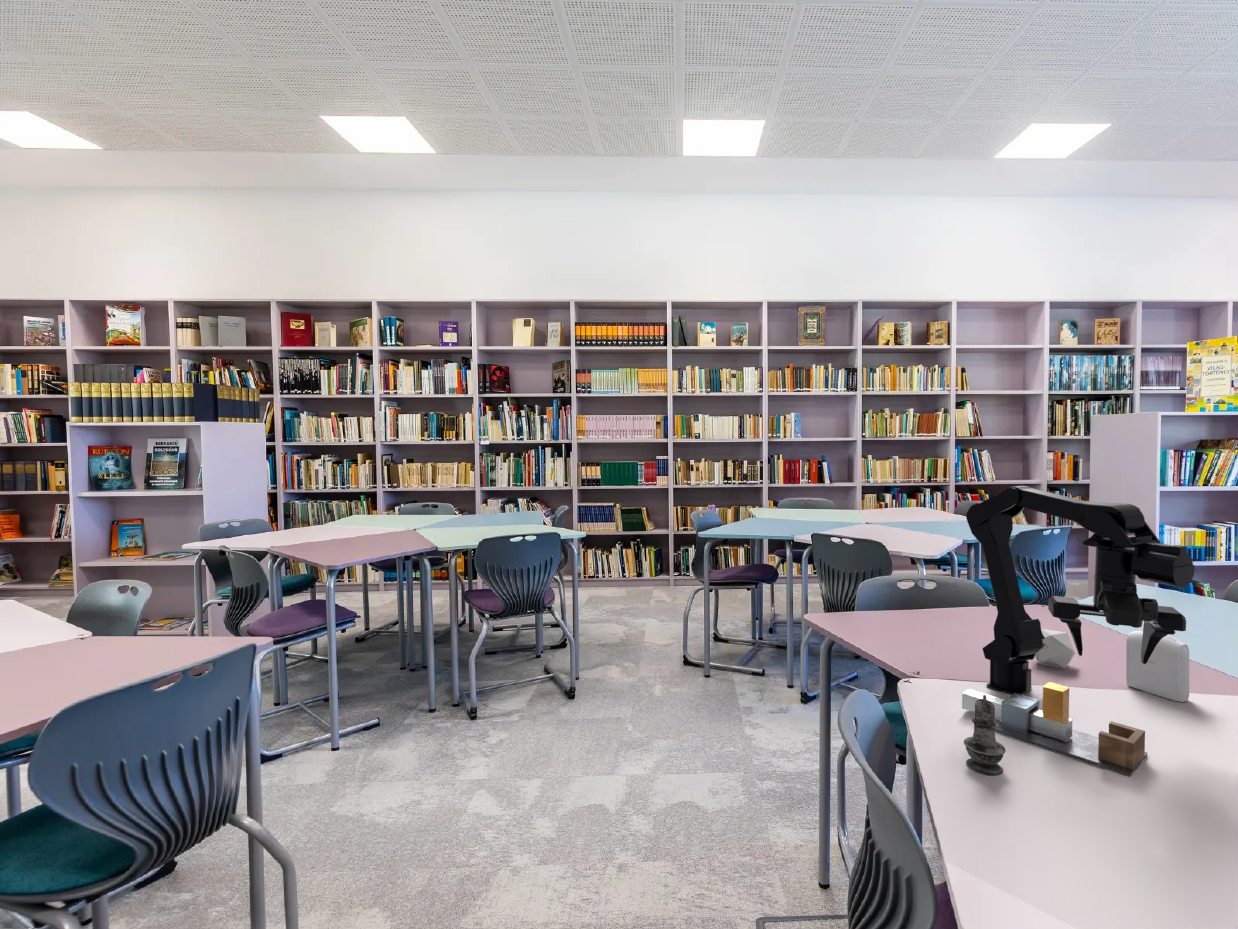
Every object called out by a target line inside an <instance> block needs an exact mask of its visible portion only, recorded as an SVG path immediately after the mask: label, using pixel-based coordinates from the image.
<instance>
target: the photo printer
mask: <svg viewBox="0 0 1238 929" xmlns="http://www.w3.org/2000/svg"><path fill="white" fill-rule="evenodd" d="M1142 637H1143V630H1135V631H1130V632H1129V633H1128V635H1127V638H1126V651H1125V652H1126V653H1125V654H1126V663H1125V664H1126V666H1125V667H1126V670H1125V672H1126V673H1125V675H1126V685H1127V686H1128V687H1132V688H1134V689H1137V690H1140V691H1143V692H1147V693H1149V694H1153V695H1155V696H1158V697H1162V698H1166V699H1168V700H1172V701H1176V702H1178V701H1179V702H1180V703H1187V702H1188V701H1189V698H1190V648H1189V646H1188V644H1186V643H1185V642H1183V641H1181V640H1180V639H1177V638H1174V637H1172V636H1170V635H1166V636H1165V637H1163V638H1162V639H1161V640H1160V641H1159V643H1158V644H1157V645H1156V647H1155V649H1154V651H1153V652H1152V654H1151V656H1150V658H1149V660H1148V661H1147V663H1146V664H1143V663H1142V662H1141V647H1142Z"/></svg>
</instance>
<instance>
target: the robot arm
mask: <svg viewBox="0 0 1238 929" xmlns="http://www.w3.org/2000/svg"><path fill="white" fill-rule="evenodd" d="M1025 509H1026V510H1027V509H1028V510H1031V511H1035V512H1039V513H1042V514H1045V515H1050V516H1053V517H1057V518H1060V519H1065V520H1069V521H1070V522H1071V521H1072V522H1074V523H1076V524H1077V525H1080V527H1082V528H1083V529H1084V530H1086V531H1089V532H1091V533H1093V534H1092V535H1091V536H1090V537H1089V538H1087V539H1085V540H1082V544H1083V545H1084V546H1087V547H1094V548H1095V565H1094V576H1093V581H1094V584H1093V587H1094V588H1093V604H1087V603H1080V602H1078V601H1077V600H1076V598H1075V597H1069V596H1059V595H1052V596H1051V597H1049V599H1048V602H1047V603H1048V607H1047V610H1048V611H1049V613H1050V614H1051V616H1052V617H1053V618H1056V619H1059V620H1060V622H1062V623H1064V624H1066V625H1067V627H1068V630H1069V631H1070V634H1071V638H1072V640H1073V642H1074V645H1075V648H1076V652H1077V654H1078V655H1079V656H1080V657H1082V656H1083V649H1084V648H1083V638H1082V636H1083V635H1082V621H1081V620H1080V618H1079V617H1080V616H1081V615H1086V616H1087V615H1088V616H1095V617H1096V616H1097V617H1104V618H1105V621H1106V623H1107V624H1109V625H1112V626H1117V627H1119V626H1125V627H1126V626H1127V627H1132V628H1133V629H1134V628H1135V629H1138V628H1141V627H1142V626H1143V628H1142V631H1143V637H1142V647H1141V662H1142V663H1143V664H1146V663H1147V661H1148V660H1149V658H1150V656H1151V654H1152V652H1153V651H1154V649H1155V647H1156V645H1157V644H1158V643H1159V641H1160V640H1161V639H1162V638H1163V637H1165V636H1166V635H1167V636H1169V635H1171V636H1173V635H1175V634H1176V632H1185V631H1187V620H1186V616H1184V615H1183V613H1181V612H1179V611H1178V610H1177V609H1176V608H1175V607H1172V606H1164V605H1163V606H1162V605H1159V603H1158V601H1157V599H1156V598H1146V597H1145V598H1144V597H1142V598H1141V597H1139V595H1138V588H1137V584H1136V578H1138V579H1140V580H1142V581H1147V582H1152V583H1156V584H1161V585H1165V586H1171V587H1176V588H1180V589H1185V588H1186V587H1187V586H1189V585H1190V583H1191V582H1192V580H1193V578H1194V575H1195V569H1196V568H1195V567H1196V566H1195V564H1194V563H1193V562H1194V561H1193V559H1192V557H1191V556H1190V555H1189V554H1188V547H1187V546H1185V545H1180V544H1174V545H1173V544H1165V543H1161V541H1160V540H1159V538H1158V536H1157V535H1156V534H1155V533H1154V531H1153V530H1152V529H1151V528H1150V526H1149V524H1148V523H1147V521H1145V516H1144V514H1143V512H1142V511H1141V509H1140V507H1138V506H1136V505H1135V504H1131V503H1120V502H1103V501H1099V502H1097V501H1088V500H1083V499H1078V498H1076V497H1075V498H1074V497H1069V496H1066V495H1062V494H1057V493H1053V492H1049V491H1044V490H1040V489H1036V488H1032V487H1030V486H1028V485H1016V486H1015V485H1014V486H1009V487H1008V488H1006V489H1004V490H1003V491H1002V492H1000V493H998V494H995V495H993V496H992V497H989V498H987V499H985V500H983V501H981V502H980V503H975V504H972V505H971V506H970V507H969V508H968V510H967V511H966V514H965V515H966V516H965V518H966V522H967V524H968V527H969V529H970V531H971V534H972V536H973V537H974V538H976V540H977V541H978V542H979V544H981V546H982V550H983V554H984V558H985V563H986V567H987V568H986V569H987V571H988V576H989V581H990V584H991V589H992V593H993V596H994V602H995V605H996V611H997V615H996V619H995V622H994V624H993V638H994V640H992V641H990V642H989V643H988V644H987V645H985V646H983V647H982V652H983V655H984V659H986V660H989V682H988V683H986V687H987V688H991V689H993V690H996V691H1001V692H1003V693H1007V694H1011V695H1013V694H1014V693H1017V694H1021V695H1024V694H1025V693H1027V692H1029V691H1030V690H1031V689H1032V688H1033V687H1032V669H1030V668H1029V663H1030V662H1029V660H1034V659H1035V658H1036V657H1035V655H1036V653H1037V652H1039V650H1040V649H1041V648H1042V646H1043V641H1042V639H1045V637H1044V636H1043V634H1042V631H1041V629H1042V626H1041V621H1040V619H1039V618H1034V619H1033V618H1032V617H1031V616H1030V615H1029V614H1028V612H1027V611H1026V610H1025V605H1024V601H1023V597H1022V593H1021V588H1020V584H1019V581H1018V577H1017V572H1016V567H1015V565H1014V564H1015V563H1014V559H1013V556H1012V551H1011V547H1010V539H1011V535H1012V532H1013V529H1014V527H1013V526H1014V525H1013V519H1014V518H1015V517H1016V516H1018V515H1020V514H1021V513H1022V512H1023V511H1024V510H1025Z"/></svg>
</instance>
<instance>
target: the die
mask: <svg viewBox="0 0 1238 929" xmlns="http://www.w3.org/2000/svg"><path fill="white" fill-rule="evenodd" d="M1041 631H1042V634H1043V636H1044V637H1045V639H1042V641H1043V646H1042V648H1041V649H1040V650H1039V652H1037V653H1036V655H1035V657H1034V658H1035V660H1036V662H1037V664H1038V665H1042V666H1046V667H1052V668H1057V669H1063V670H1066V668H1067V667H1068V665H1069V664H1070V662H1071V661H1072V659H1073V658H1074V656H1075V655H1076V652H1075V649H1074V646H1073V644H1072V641H1071V639H1070V636H1069V634H1068V632H1064V631H1060V630H1059V631H1057V630H1052V629H1047V628H1041Z"/></svg>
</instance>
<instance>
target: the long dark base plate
mask: <svg viewBox="0 0 1238 929" xmlns="http://www.w3.org/2000/svg"><path fill="white" fill-rule="evenodd" d="M1004 699H1005V700H1004V701H1002V702H1001V721H1000V723H999V724H997V727H995V733H997V734H1000V735H1003V736H1006V737H1008V738H1012V739H1015V740H1018V741H1020V742H1021V741H1022V742H1023V743H1027V744H1029V745H1033V746H1035V747H1039V748H1042V749H1045V750H1048V751H1052V752H1054V753H1057V754H1061V755H1063V756H1066V757H1069V758H1072V759H1073V760H1078V761H1080V762H1084V763H1087V764H1090V765H1093V766H1095V767H1099V768H1102V769H1105V770H1108V771H1111V772H1113V773H1117V774H1120V775H1123V776H1125V777H1128V778H1131V777H1132V775H1133V774H1134V773H1135V772H1136V770H1138V768H1139V767H1140V765H1141V764H1142V763H1143V762H1144V761H1145V760H1146V758H1147V757H1148V752H1147V751H1145V756H1144V757H1143V758H1142V760H1141V761H1140V762H1139V763H1138V764H1137V766H1136V767H1135V768H1134V769H1130V768H1127V767H1124V766H1120V765H1117V764H1114V763H1111V762H1108V761H1105V760H1102V759H1099V758H1098V741H1099V736H1094V735H1091V734H1088V733H1085V732H1082V731H1078V730H1074V729H1072V737H1070V738H1069V739H1068V740H1067V741H1063V740H1060V739H1057V738H1054V737H1050V736H1047V735H1044V734H1041V733H1038V732H1035V731H1032V730H1029V729H1028V712H1029V711H1030V710H1031V709H1033V708H1036V709H1039V710H1040V702H1041V701H1040V699H1038V698H1035V697H1031V696H1028V695H1024V694H1023V695H1021V694H1017V693H1014V694H1011V695H1009V696H1008V697H1007V698H1004Z"/></svg>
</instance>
